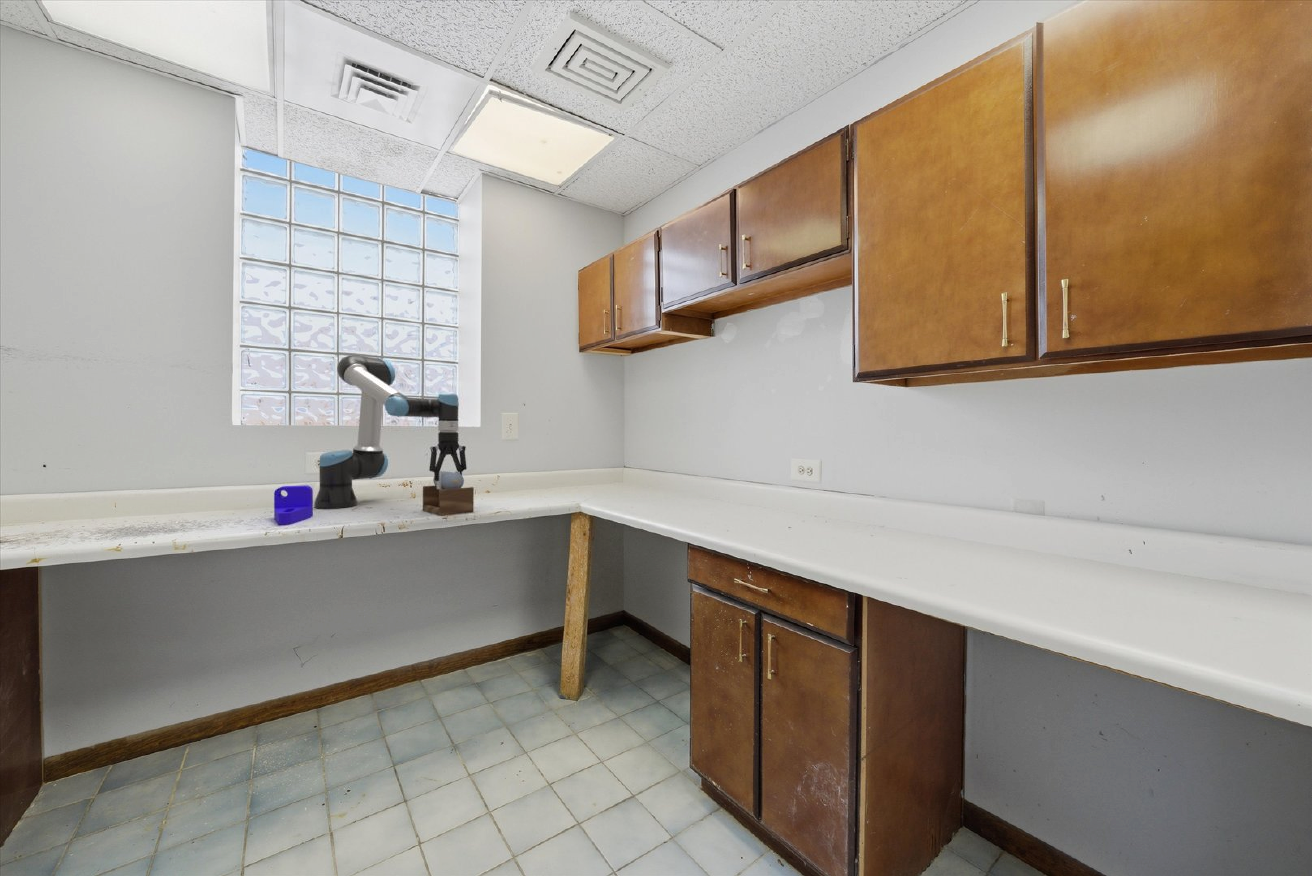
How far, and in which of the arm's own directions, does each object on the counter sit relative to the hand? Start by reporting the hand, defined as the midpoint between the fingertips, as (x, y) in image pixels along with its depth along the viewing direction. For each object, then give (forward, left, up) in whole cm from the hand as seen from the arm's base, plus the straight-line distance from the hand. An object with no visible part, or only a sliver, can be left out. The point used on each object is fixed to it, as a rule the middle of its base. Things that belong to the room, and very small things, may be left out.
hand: (448, 488), depth 200 cm
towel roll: (0, 0, 0) cm, 0 cm away
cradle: (0, 0, -9) cm, 9 cm away
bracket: (-19, -49, -10) cm, 53 cm away
